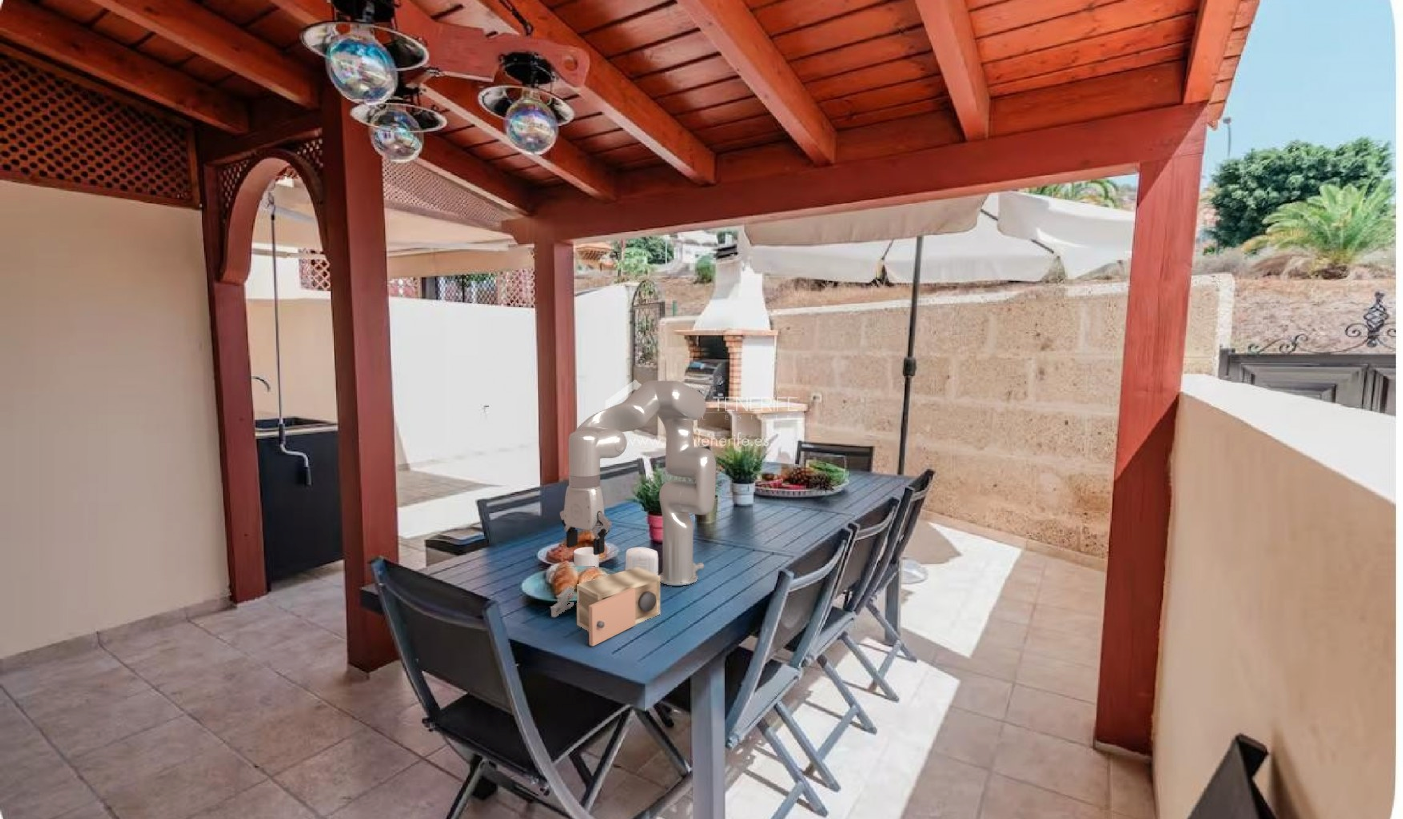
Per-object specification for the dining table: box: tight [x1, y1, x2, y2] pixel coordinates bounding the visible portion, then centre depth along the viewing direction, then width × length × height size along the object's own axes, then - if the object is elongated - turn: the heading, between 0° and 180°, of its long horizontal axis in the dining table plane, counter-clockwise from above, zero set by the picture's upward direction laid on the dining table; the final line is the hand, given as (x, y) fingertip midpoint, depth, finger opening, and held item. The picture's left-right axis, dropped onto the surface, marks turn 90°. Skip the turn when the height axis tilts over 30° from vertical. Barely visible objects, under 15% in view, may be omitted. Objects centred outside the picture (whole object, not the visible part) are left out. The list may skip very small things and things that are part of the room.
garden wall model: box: [550, 586, 575, 618], centre depth 174 cm, size 12×2×6 cm, turn 159°
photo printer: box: [624, 546, 659, 575], centre depth 191 cm, size 10×4×12 cm, turn 78°
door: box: [588, 588, 636, 647], centre depth 157 cm, size 15×2×10 cm, turn 143°
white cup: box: [573, 546, 600, 569], centre depth 195 cm, size 8×8×10 cm
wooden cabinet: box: [576, 567, 661, 633], centre depth 167 cm, size 20×11×11 cm, turn 133°
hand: (585, 549), depth 155 cm, fingers open, 9 cm apart
